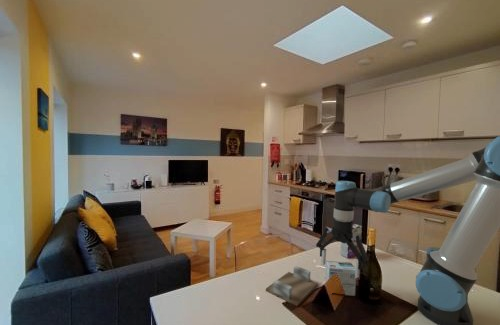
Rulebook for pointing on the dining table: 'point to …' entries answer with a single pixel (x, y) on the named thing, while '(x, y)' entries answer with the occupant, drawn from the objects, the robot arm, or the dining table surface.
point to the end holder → (293, 286)
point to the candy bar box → (346, 249)
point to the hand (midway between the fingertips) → (339, 270)
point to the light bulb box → (343, 275)
